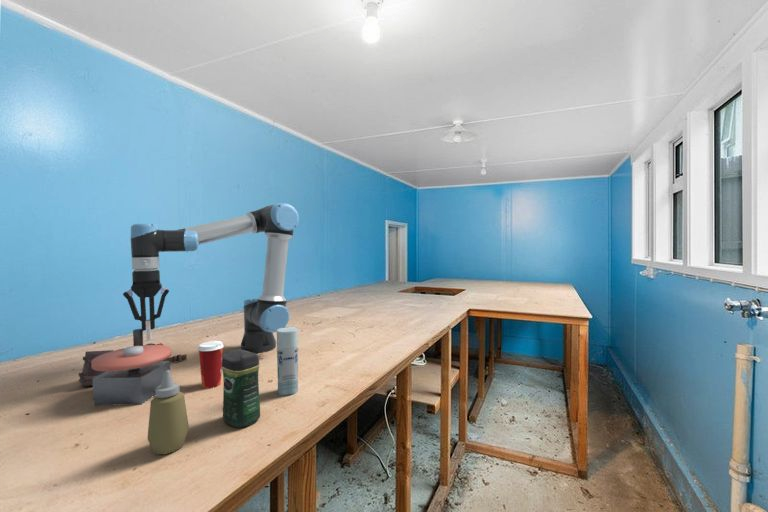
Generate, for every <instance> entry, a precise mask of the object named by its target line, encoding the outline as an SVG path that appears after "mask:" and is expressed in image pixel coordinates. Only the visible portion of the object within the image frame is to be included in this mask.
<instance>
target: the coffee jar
mask: <svg viewBox="0 0 768 512" xmlns="http://www.w3.org/2000/svg"><path fill="white" fill-rule="evenodd" d="M259 358H260V357H259V354H257V353H252V352H249V351H245V350H241V349H240V348H237V349H236V348H235V349H233V350H228V351H226V352H225V353H224V354H223V355H222V378H223V394H222V395H223V397H222V399H223V400H222V419H223V421H224V422H225V423H226V424H227V425H229V426H232V427H234V428H243V427H248V426H250V425H253V424H254V423H255V422H257V421H258V420H259V419H260V418H261V405H260V404H261V402H260V391H259V390H260V389H259V371H260V359H259Z"/></svg>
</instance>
